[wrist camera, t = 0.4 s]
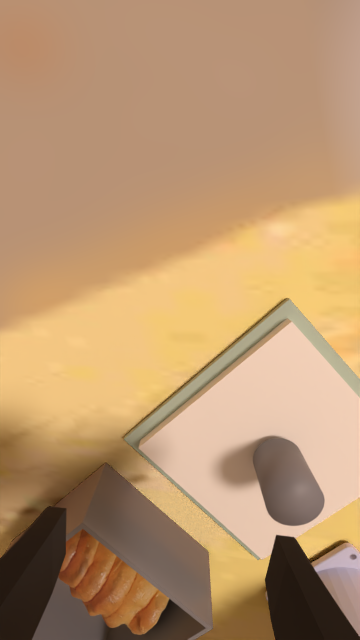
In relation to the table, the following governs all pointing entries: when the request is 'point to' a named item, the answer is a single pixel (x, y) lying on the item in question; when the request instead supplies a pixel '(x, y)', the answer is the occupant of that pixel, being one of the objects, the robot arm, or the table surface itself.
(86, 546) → the pastry
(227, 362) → the mat
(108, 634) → the dish
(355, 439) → the lid
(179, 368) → the table surface
